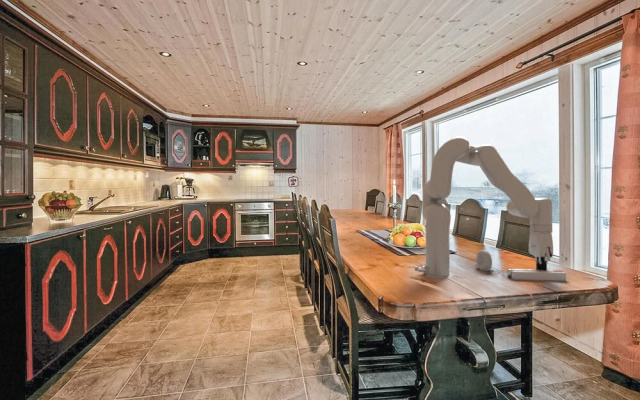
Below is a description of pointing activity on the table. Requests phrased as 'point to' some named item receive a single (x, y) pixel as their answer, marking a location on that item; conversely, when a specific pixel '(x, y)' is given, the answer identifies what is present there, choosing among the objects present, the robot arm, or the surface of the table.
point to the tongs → (537, 276)
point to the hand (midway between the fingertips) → (541, 272)
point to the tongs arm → (509, 271)
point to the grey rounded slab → (484, 260)
